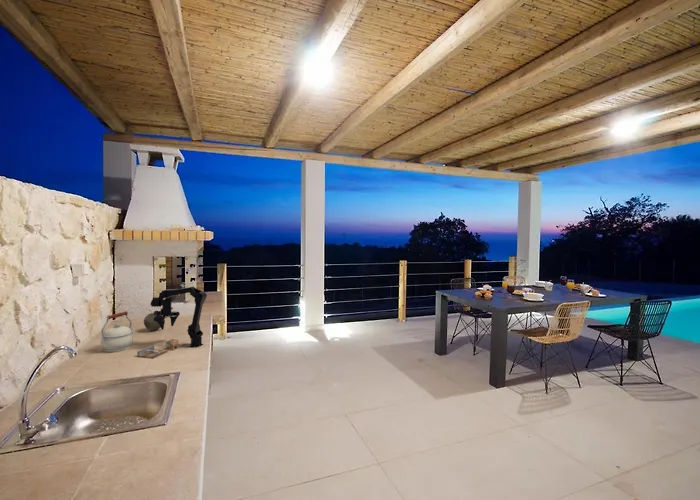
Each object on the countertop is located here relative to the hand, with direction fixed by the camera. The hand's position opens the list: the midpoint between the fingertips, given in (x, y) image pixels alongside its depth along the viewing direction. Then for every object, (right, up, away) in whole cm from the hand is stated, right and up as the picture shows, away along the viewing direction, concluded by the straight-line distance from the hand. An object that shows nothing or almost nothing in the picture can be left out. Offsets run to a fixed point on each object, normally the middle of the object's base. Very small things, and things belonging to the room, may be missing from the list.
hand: (167, 327), depth 232 cm
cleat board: (+1, -13, -19) cm, 23 cm away
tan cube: (+8, -13, -7) cm, 17 cm away
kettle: (-29, -12, -8) cm, 33 cm away
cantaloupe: (-31, -11, +34) cm, 47 cm away
